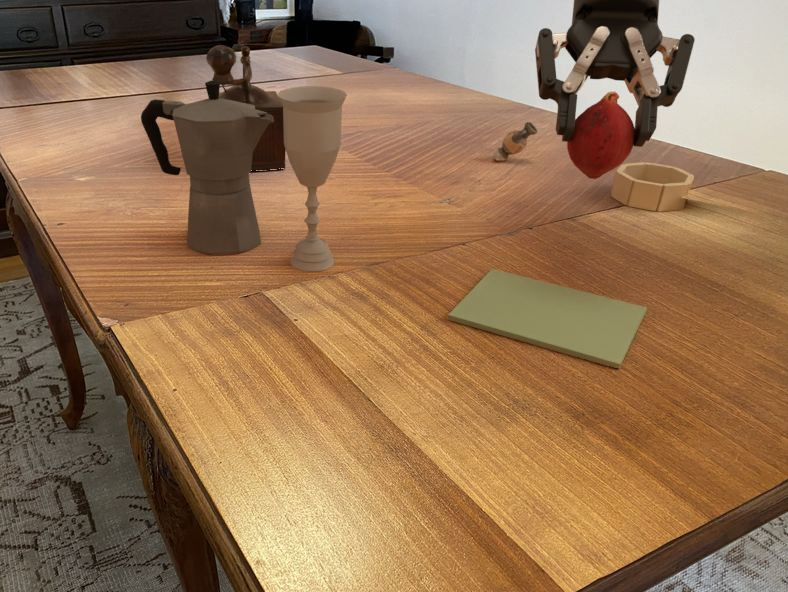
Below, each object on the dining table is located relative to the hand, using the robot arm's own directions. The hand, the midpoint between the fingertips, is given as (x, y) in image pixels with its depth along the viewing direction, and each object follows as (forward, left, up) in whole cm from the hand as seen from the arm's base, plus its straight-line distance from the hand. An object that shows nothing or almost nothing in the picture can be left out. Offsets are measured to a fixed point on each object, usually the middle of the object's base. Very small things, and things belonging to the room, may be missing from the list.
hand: (604, 139), depth 64 cm
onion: (+1, -2, -4) cm, 5 cm away
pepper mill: (+53, -16, -16) cm, 57 cm away
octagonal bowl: (-1, -35, -16) cm, 38 cm away
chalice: (+27, +7, -16) cm, 32 cm away
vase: (+20, -41, -16) cm, 48 cm away
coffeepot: (+40, +8, -16) cm, 44 cm away
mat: (+1, +5, -16) cm, 17 cm away
